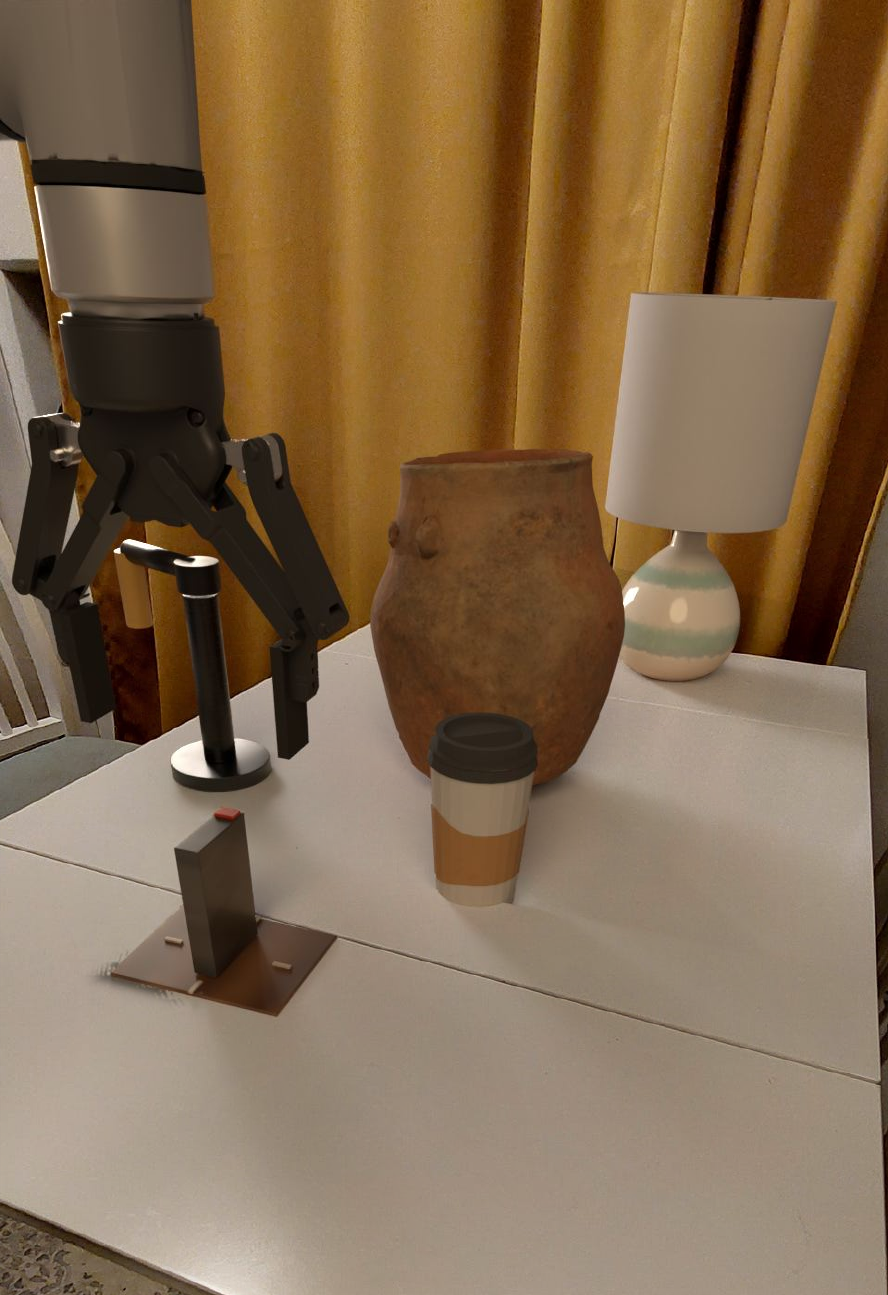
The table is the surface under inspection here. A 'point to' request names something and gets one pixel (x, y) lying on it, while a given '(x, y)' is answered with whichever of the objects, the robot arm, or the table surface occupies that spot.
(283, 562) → the robot arm
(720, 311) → the lamp
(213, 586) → the crank handle
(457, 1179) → the table surface
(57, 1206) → the table surface
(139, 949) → the brown wooden board
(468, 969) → the table surface
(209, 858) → the dark gray slab
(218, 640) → the faucet
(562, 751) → the pot
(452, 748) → the coffee cup
